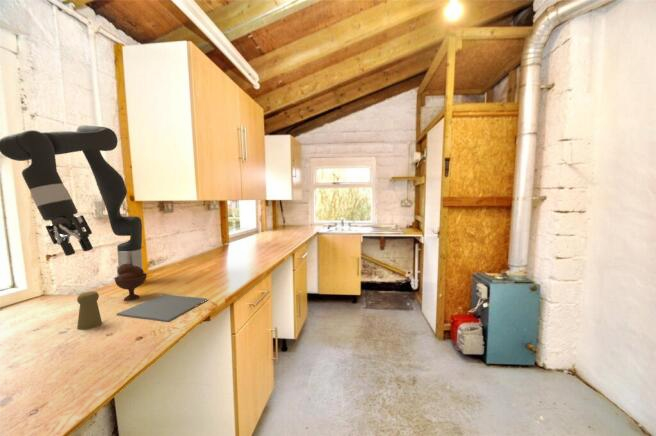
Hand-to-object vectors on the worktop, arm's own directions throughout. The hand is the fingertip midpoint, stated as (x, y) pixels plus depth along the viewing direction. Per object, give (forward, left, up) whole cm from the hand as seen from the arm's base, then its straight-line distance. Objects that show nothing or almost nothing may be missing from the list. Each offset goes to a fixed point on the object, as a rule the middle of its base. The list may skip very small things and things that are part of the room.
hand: (79, 252), depth 80 cm
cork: (-3, +4, -25) cm, 26 cm away
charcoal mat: (+9, +22, -25) cm, 34 cm away
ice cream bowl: (-12, +26, -25) cm, 38 cm away
